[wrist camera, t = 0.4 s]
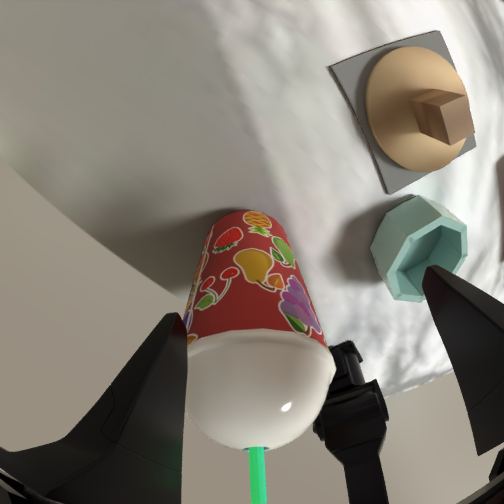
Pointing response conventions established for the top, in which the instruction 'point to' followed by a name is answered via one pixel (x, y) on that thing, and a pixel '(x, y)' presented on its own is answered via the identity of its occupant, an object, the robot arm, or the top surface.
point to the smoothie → (253, 343)
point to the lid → (417, 108)
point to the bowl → (417, 245)
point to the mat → (354, 84)
